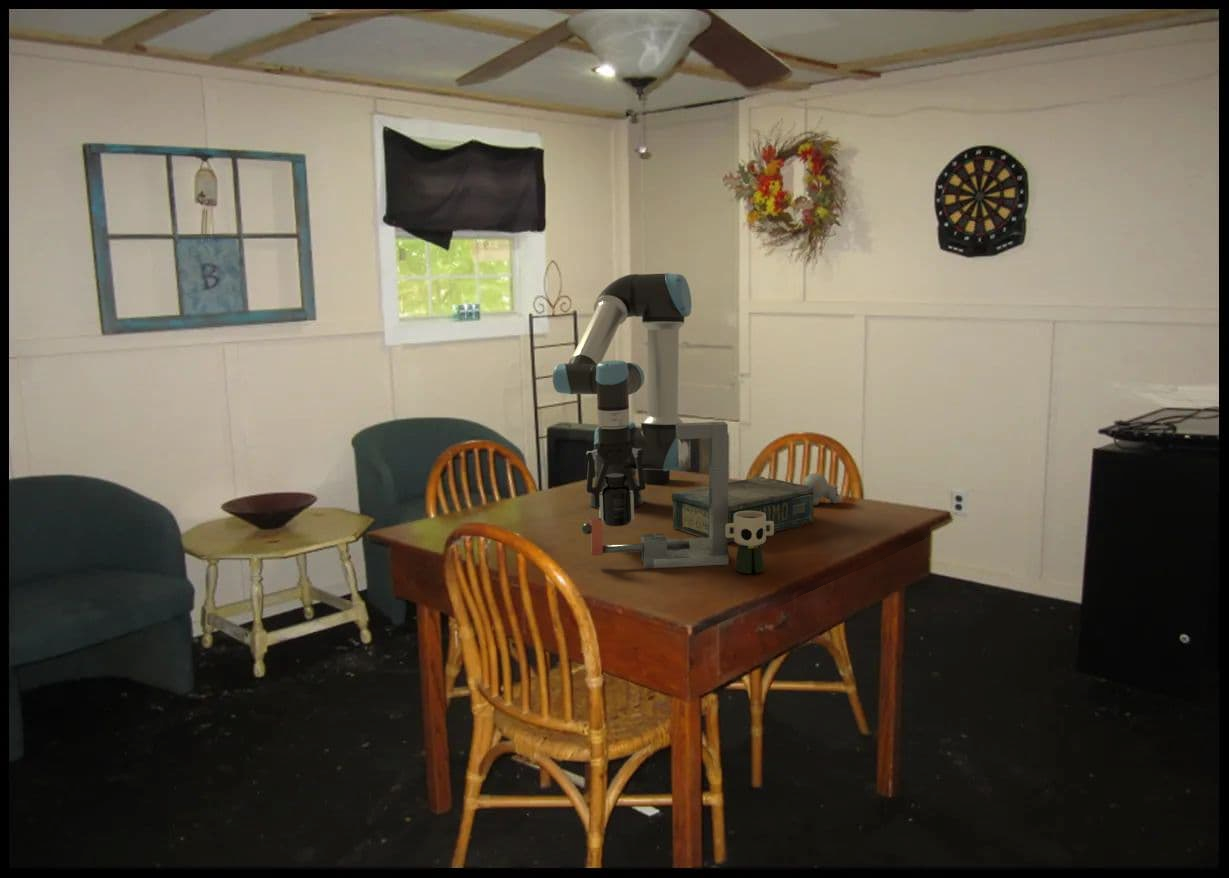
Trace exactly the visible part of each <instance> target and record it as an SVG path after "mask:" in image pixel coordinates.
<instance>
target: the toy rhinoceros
mask: <svg viewBox="0 0 1229 878" xmlns="http://www.w3.org/2000/svg"><path fill="white" fill-rule="evenodd" d="M825 477H826V476H825ZM825 477H824V475H822V474H820V473H816V472H815V473H809V474H808V475H806V476H804V477H803V479H802V483H801V485H806V486H810V487H813V490H814V494H813V497H814V502H813V506H818V505H819V503H820V499H821V498H823V497H824V498H825V499H826V500H829V501H830V503H831V504H838V503H839V502H840V500H841V499H842V498H843V495H844V494H843V492H842V493H841V494H839V491H838V488H839V486H838V485H837V483H834V484H828V481H827V478H825Z"/></svg>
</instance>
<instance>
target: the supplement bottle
mask: <svg viewBox="0 0 1229 878" xmlns="http://www.w3.org/2000/svg"><path fill="white" fill-rule="evenodd" d="M605 480H606V481H605V483H606V486H604V487H603V489H602V495H603V520H604V521H602V523H603V524H604V525H606V526H607V527H608V526H609V527H623V526H627V525H629V524H631V521H632V520H631V507H630V489H629V487H628V486H627V485H625V482H626V480H625V475H624V474H621V473H613V474H608V475H606V476H605Z"/></svg>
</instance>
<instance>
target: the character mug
mask: <svg viewBox="0 0 1229 878" xmlns="http://www.w3.org/2000/svg"><path fill="white" fill-rule="evenodd" d="M766 525H770V531H767V532H766ZM730 527H734V533H732V534H730ZM774 533H775V532H774V522H773V521H766V514H765V513H763V512H759V511H739V512H736V513H734V523H728V524H726V526H725V536H726V538H734V541H735V542H734V543H735V544H738V546H737V551H736V560H735V570H736V571H738V572H739V573H743V574H752V571H755V573H756V574H758V573H761V572H763V571H764V570H765V567H764V566H765V565H764V558H763V550H762V546H761V545H762V544H764V543H765V542H766V540H767V536H768V537H769V536H771V537H772V536H774Z"/></svg>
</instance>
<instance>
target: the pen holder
mask: <svg viewBox="0 0 1229 878" xmlns="http://www.w3.org/2000/svg"><path fill="white" fill-rule="evenodd" d="M670 471H671V470H667V471H664V470H646V469H643V473H644V481H645V483H646V484H645V485H650V484H659V485H665V483H666V484H668V483H669V482H670V474H671V473H670Z"/></svg>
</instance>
